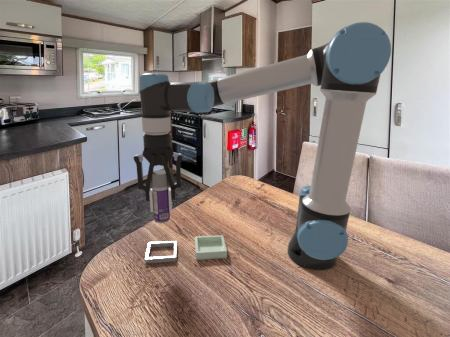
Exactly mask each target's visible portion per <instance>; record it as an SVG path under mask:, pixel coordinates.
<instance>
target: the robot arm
mask: <svg viewBox="0 0 450 337" xmlns="http://www.w3.org/2000/svg"><path fill="white" fill-rule="evenodd" d="M391 44H392V43H391V40H390V37H389V35H388V34H387V33H386V31H385V30H384V29H383V28H382V27H380V26H379V25H377V24H374V23H372V22H368V21H367V22H366V21H364V22H363V21H360V22H355V23H352V24H349V25H347V26H344V27H343V28H341V29H339V30H338V31H337V32H336V33H334V35H333V36H332V37H331V39H330V41H329V42H327V43H326V44H323V45H321V46H318V47H315V48H311V49H310V50H309V51H308V53H306V54H305V55H299V56H296V57H293V58H288V59H285V60H282V61H279V62H275V63H271V64H267V65H262V66H260V67H256V68H253V69H248V70H245V71H241V72H238V73H235V74H230V75H226V76H223V77H219V78H215V79H211V80H208V81H177V82H176V81H170V79H169V76H168V74H166V73H142V74H140V76H139V95H140V109H141V124H142V125H141V126H142V132H143V135H142V136H143V138H142V139H143V151H142V152H141V153H139V154H138V153H137V154H135V155H134V156H133V161H134V163H135V164H136V175H137V176H136V177H137V187H138V189H139V190H143V191H144V192H145V200H146V201H147V202H149V206H150V213H154V209H153V194H152V187H151V186H152V173H153V171H154V168H155V167H157V166H161V167H162V166H163V169H164V170H165V172H166V175H167V179H168V186H169V187H168V188H169V189H168V196H169V211H170V212H172V211H173V201H174V200H176V189H180V188H181V187H182V178H181V177H182V176H181V175H182V174H181V169H182V168H181V162H182V160H183V154H182V153H181V152H179V153H177V152H175V151H174V150H173V148H172V133H170V132H171V126H172V125H171V112H181V113H183V112H186V113H196V114H199V113H209V112H211V111H212V109H213V108H214V107H219V106H222V105H225V104H226V105H227V104H230V103H235V102H240V101H243V100H247V99H251V98H256V97H259V96H264V95H268V94H273V93H277V92H282V91H285V90H289V89H295V88H298V87H302V86H306V85H314V86H315V87H320V88H319V91H320V92H321V93H322V94H323V96H324V97H325V101H324V108H323V113H322V118H321V125H320V130H319V135H318V136H319V137H318V143H317V149H316V153H315V154H316V155H315V160H314V166H313V170H312V171H313V172H312V176H311V177H312V178H311V183H310V185H305V186H302V187H301V189H300V191H299V192H300V193H299V194H298V197H299V198H298V207H297V215H296V222H295V230H294V232H293V234H292V236H291V238H290V240H289V242H288V245H287V255H288V257H289V258H290V259H291V261H292V262H294V263H296V264H298V265H300V267H304V268H307V269H311V270H317V271H321V270H327V269H331V268H333V267H334V266H335V265H336V264H337V259H338V257H339V256H342V255H343V254H344V253H345V251H346V250H347V248H348V245H349V244H348V243H349V235H348V232H347V227H348V223H349V218H350V212H351V206H350V204H348V202H347V201H346V200H347V194H348V190H349V185H350V180H351V176H352V172H353V166H354V163H355V157H356V152H357V148H358V143H359V139H360V135H361V129H362V124H363V120H364V116H365V111H366V106H367V102H368V101H369V100H370V99H372V98H373V97H375V95H377V91H378V87H379V83H380V78H381V74H382V73H383V72H384V71H385V69H386V67H387V66H388V64H389V61H390V58H391V55H392V45H391ZM172 157H173V160H174V161H175V162H176V163H175V172H176V182H175V181H174V178H173V175H172V170H171V167H170V164H169V161H171V160H172ZM144 159H145V160H146V161H147V162H148V163H149V164H148V165H149V166H148V171H147V176H146V177H147V178H146V182H145V183H144V172H143V171H144V170H143V161H144Z"/></svg>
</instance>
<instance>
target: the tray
mask: <svg viewBox="0 0 450 337" xmlns="http://www.w3.org/2000/svg"><path fill="white" fill-rule="evenodd" d="M227 249H228V248H227V245H226V241H225V238H224V235H221V234H220V235H199V236H198V235H197V236H194V251H195V252H194V253H195V261H204V260H216V259H217V260H218V259H220V260H221V259H227V258H228V250H227Z"/></svg>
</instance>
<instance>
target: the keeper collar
mask: <svg viewBox="0 0 450 337" xmlns="http://www.w3.org/2000/svg"><path fill="white" fill-rule="evenodd" d="M177 243H178V242H177V240H171V241H170V240H169V241H168V240H166V241H149V242H148V243H147V248H146V252H145V258H144V264H159V263H161V264H162V263H173V262H174V263H175V262H177V254H178V253H177V252H178V250H177V249H178V248H177V246H178V244H177ZM167 247H168V248H169V247H173V255H165V256H164V255H163V256H150V255H151V248H167Z"/></svg>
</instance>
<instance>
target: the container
mask: <svg viewBox="0 0 450 337" xmlns="http://www.w3.org/2000/svg"><path fill="white" fill-rule="evenodd" d="M151 188H152V194H153V209H154V211H153V219H154V220H153V221H154V222H155V223H158V224H164V223H168V222H169V221H170V220H171V213H170V212H171V211H169V196H168V189H169V188H170V187H169V182H168V179H167V175H166V172H165V169H164V170H163V169H157V170H153V173H152V180H151Z"/></svg>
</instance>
